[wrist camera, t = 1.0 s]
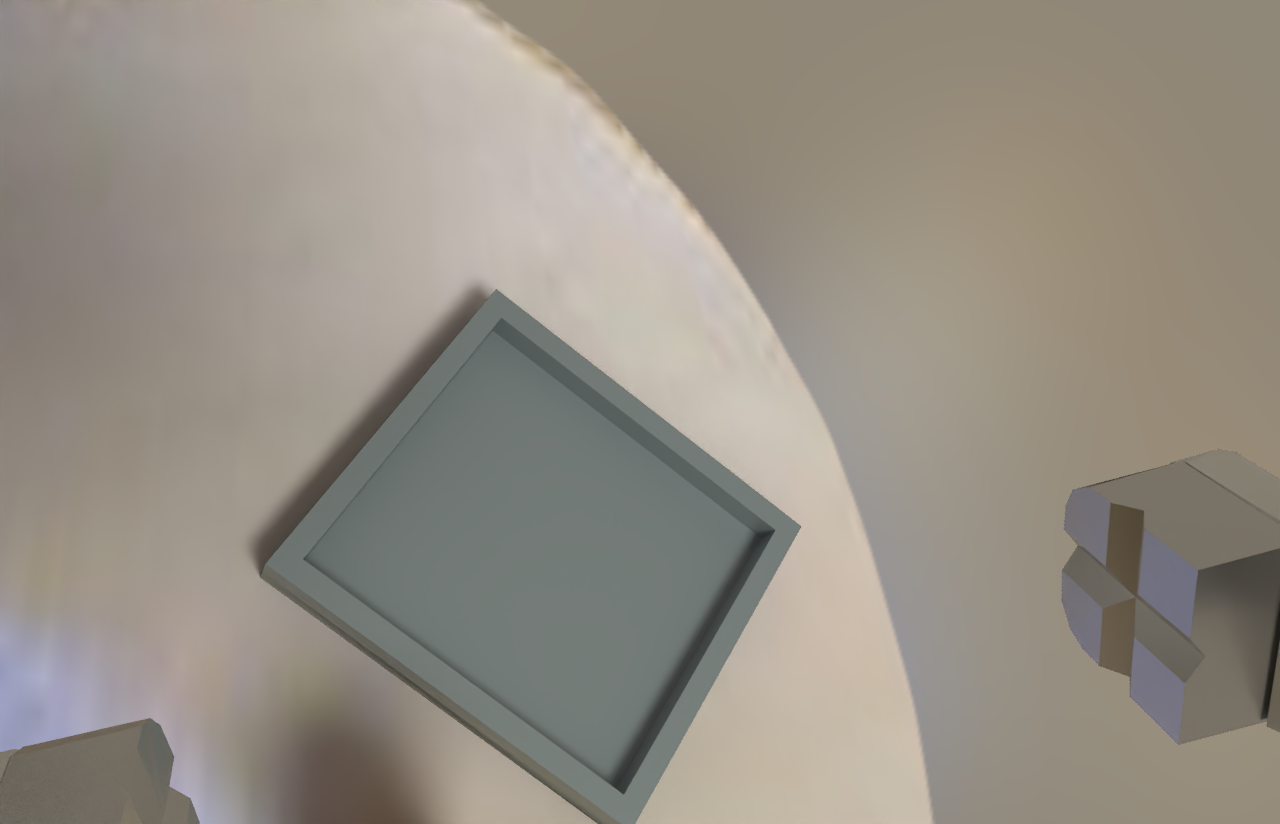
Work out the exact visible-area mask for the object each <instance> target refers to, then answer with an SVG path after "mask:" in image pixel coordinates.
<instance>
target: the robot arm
mask: <svg viewBox="0 0 1280 824" xmlns="http://www.w3.org/2000/svg"><path fill="white" fill-rule="evenodd" d="M1064 530H1065V531H1066V533H1067V534H1068V535H1069V536H1070V537H1071V538H1072V540H1073V541H1074V542H1075V543H1076V544H1077V545H1078V546H1077V548H1076V549H1075V551H1074V552H1073V554H1072V556H1071V557H1070V559H1069V560H1068V562H1067V563H1066V565H1065V566H1064V568H1063V569H1062V604H1063V607H1064V610H1065V613H1066V617H1067V620H1068V623H1069V626H1070V629H1071V631H1072V632H1073V634H1074V636H1075V637H1076V639H1077V641H1078V642H1079V644H1080V645H1081V647H1082V649H1083V650H1084V651H1085V652H1086V653H1087V654H1088V655H1089V656H1090V657H1091V658H1092V659H1093V660H1094V661H1095V662H1096V663H1097V664H1098V665H1099V666H1101V667H1104V668H1106V669H1109V670H1112V671H1115V672H1118V673H1120V674H1123V675H1126V676H1129V677H1130V697H1131V698H1132V699H1133V700H1134V701H1135V702H1136V703H1137V704H1138V705H1139V706H1140V707H1141V708H1142V709H1143V710H1144V711H1145V712H1146V713H1147V714H1148V715H1149V716H1150V717H1151V718H1152V719H1153V720H1154V721H1155V722H1156V723H1157V724H1158V725H1159V726H1160V727H1161V728H1162V729H1163V730H1164V731H1165V732H1166V733H1167V734H1168V735H1169V736H1170V737H1171V738H1172V739H1173V740H1174V741H1175V742H1176V743H1177V744H1183V743H1187V742H1191V741H1194V740H1198V739H1202V738H1205V737H1209V736H1213V735H1217V734H1221V733H1224V732H1228V731H1232V730H1236V729H1239V728H1243V727H1247V726H1251V725H1255V724H1259V723H1263V722H1266V721H1267V727H1270V728H1272V729H1274V730H1276V731H1278V732H1280V478H1278V477H1277V476H1275V475H1273V474H1272V473H1270V472H1268V471H1267V470H1265V469H1264V468H1262V467H1260V466H1258V465H1257V464H1255V463H1254V462H1252V461H1250V460H1249V459H1247V458H1245V457H1244V456H1242V455H1241V454H1239V453H1237V452H1234V451H1228V450H1222V449H1217V450H1213V451H1210V452H1206V453H1203V454H1199V455H1196V456H1193V457H1189V458H1185V459H1182V460H1178V461H1175V462H1171V463H1170V464H1169V465H1165V466H1162V467H1158V468H1154V469H1150V470H1146V471H1143V472H1139V473H1135V474H1131V475H1127V476H1123V477H1119V478H1116V479H1112V480H1108V481H1104V482H1100V483H1096V484H1093V485H1089V486H1085V487H1081V488H1077V489H1074V490H1072V492H1071V494H1070V497H1069V499H1068V501H1067V504H1066V507H1065V520H1064ZM173 760H174V756H173V753H172V751H171V749H170V747H169V744H168V742H167V740H166V737H165V735H164V733H163V730H162V728H161V726H160V725H159V724H158V723H156V722H155V721H153V720H152V719H150V718H148V719H144V720H139V721H135V722H131V723H126V724H122V725H118V726H113V727H109V728H104V729H100V730H96V731H91V732H87V733H82V734H78V735H74V736H69V737H65V738H61V739H56V740H52V741H47V742H43V743H39V744H34V745H30V746H25V747H22V748H21V749H20V750H14V749H12V750H8V751H4V752H0V824H200V823H199V820H198V817H197V815H196V812H195V809H194V807H193V804H192V801H191V799H190V798H189V797H187V796H185V795H183V794H182V793H180V792H178V791H176V790H174V789H173V788H171V787H169V784H170V778H171V772H172V766H173Z"/></svg>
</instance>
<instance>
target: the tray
mask: <svg viewBox="0 0 1280 824" xmlns="http://www.w3.org/2000/svg"><path fill="white" fill-rule="evenodd" d="M800 528H801V526H800V525H799V524H797V523H796V522H795V521H794V520H792V519H791V518H790V517H788V516H787V515H786V514H785V513H783V512H782V511H781V510H779V509H778V508H777V507H776V506H774V505H773V504H772V503H770V502H769V501H768V500H767V499H765V498H764V497H763V496H761V495H760V494H759V493H758V492H756V491H755V490H754V489H752V488H751V487H750V486H749V485H747V484H746V483H745V482H743V481H742V480H741V479H740V478H738V477H737V476H736V475H734V474H733V473H732V472H731V471H729V470H728V469H727V468H725V467H724V466H723V465H722V464H720V463H719V462H718V461H716V460H715V459H714V458H713V457H711V456H710V455H709V454H707V453H706V452H705V451H704V450H702V449H701V448H700V447H698V446H697V445H696V444H695V443H693V442H692V441H691V440H689V439H688V438H687V437H686V436H684V435H683V434H682V433H680V432H679V431H678V430H677V429H675V428H674V427H673V426H671V425H670V424H669V423H668V422H666V421H665V420H664V419H662V418H661V417H660V416H659V415H657V414H656V413H655V412H653V411H652V410H651V409H650V408H648V407H647V406H646V405H644V404H643V403H642V402H641V401H639V400H638V399H637V398H635V397H634V396H633V395H632V394H630V393H629V392H628V391H626V390H625V389H624V388H623V387H621V386H620V385H619V384H617V383H616V382H615V381H614V380H612V379H611V378H610V377H608V376H607V375H606V374H605V373H603V372H602V371H601V370H599V369H598V368H597V367H596V366H594V365H593V364H592V363H590V362H589V361H588V360H587V359H585V358H584V357H583V356H581V355H580V354H579V353H578V352H576V351H575V350H574V349H572V348H571V347H570V346H569V345H567V344H566V343H565V342H563V341H562V340H561V339H560V338H558V337H557V336H556V335H554V334H553V333H552V332H551V331H549V330H548V329H547V328H545V327H544V326H543V325H542V324H540V323H539V322H538V321H536V320H535V319H534V318H533V317H531V316H530V315H529V314H527V313H526V312H525V311H524V310H522V309H521V308H520V307H518V306H517V305H516V304H515V303H513V302H512V301H511V300H509V299H508V298H507V297H506V296H504V295H503V294H502V293H500V292H499V291H498V290H497V289H496V290H495V291H494V292H493V294H492V295H491V296H490V297H489V298H488V299H487V301H486V302H485V303H484V304H483V305H482V307H481V308H480V309H479V310H478V311H477V313H476V314H475V315H474V316H473V317H472V319H471V320H470V321H469V322H468V323H467V324H466V326H465V327H464V328H463V329H462V330H461V332H460V333H459V334H458V335H457V336H456V338H455V339H454V340H453V341H452V342H451V343H450V345H449V346H448V347H447V348H446V349H445V351H444V352H443V353H442V354H441V355H440V357H439V358H438V359H437V360H436V361H435V363H434V364H433V365H432V366H431V367H430V368H429V370H428V371H427V372H426V373H425V374H424V376H423V377H422V378H421V379H420V380H419V382H418V383H417V384H416V385H415V386H414V388H413V389H412V390H411V391H410V392H409V393H408V395H407V396H406V397H405V398H404V399H403V401H402V402H401V403H400V404H399V405H398V407H397V408H396V409H395V410H394V411H393V413H392V414H391V415H390V416H389V417H388V418H387V420H386V421H385V422H384V423H383V424H382V426H381V427H380V428H379V429H378V430H377V432H376V433H375V434H374V435H373V436H372V438H371V439H370V440H369V441H368V442H367V443H366V445H365V446H364V447H363V448H362V449H361V451H360V452H359V453H358V454H357V455H356V457H355V458H354V459H353V460H352V461H351V463H350V464H349V465H348V466H347V467H346V468H345V470H344V471H343V472H342V473H341V474H340V476H339V477H338V478H337V479H336V480H335V482H334V483H333V484H332V485H331V486H330V488H329V489H328V490H327V491H326V492H325V493H324V495H323V496H322V497H321V498H320V499H319V501H318V502H317V503H316V504H315V505H314V507H313V508H312V509H311V510H310V511H309V513H308V514H307V515H306V516H305V517H304V518H303V520H302V521H301V522H300V523H299V524H298V526H297V527H296V528H295V529H294V530H293V532H292V533H291V534H290V535H289V536H288V538H287V539H286V540H285V541H284V542H283V543H282V545H281V546H280V547H279V548H278V549H277V551H276V552H275V553H274V554H273V555H272V557H271V558H270V559H269V560H268V561H267V563H266V564H265V566H264V569H263V572H262V574H261V578H262V579H263V580H265V581H266V582H267V583H269V584H270V585H272V586H273V587H274V588H276V589H277V590H278V591H280V592H281V593H283V594H284V595H285V596H287V597H288V598H289V599H291V600H292V601H294V602H295V603H296V604H298V605H299V606H300V607H302V608H303V609H304V610H306V611H307V612H309V613H310V614H311V615H313V616H314V617H315V618H317V619H318V620H320V621H321V622H322V623H324V624H325V625H326V626H328V627H329V628H331V629H332V630H333V631H335V632H336V633H337V634H339V635H340V636H342V637H343V638H344V639H346V640H347V641H348V642H350V643H351V644H352V645H354V646H355V647H357V648H358V649H359V650H361V651H362V652H363V653H365V654H366V655H368V656H369V657H370V658H372V659H373V660H374V661H376V662H377V663H379V664H380V665H381V666H383V667H384V668H385V669H387V670H388V671H389V672H391V673H392V674H394V675H395V676H396V677H398V678H399V679H400V680H402V681H403V682H405V683H406V684H407V685H409V686H410V687H411V688H413V689H414V690H416V691H417V692H418V693H420V694H421V695H422V696H424V697H425V698H427V699H428V700H429V701H431V702H432V703H433V704H435V705H436V706H437V707H439V708H440V709H442V710H443V711H444V712H446V713H447V714H448V715H450V716H451V717H453V718H454V719H455V720H457V721H458V722H459V723H461V724H462V725H464V726H465V727H466V728H468V729H469V730H470V731H472V732H473V733H474V734H476V735H477V736H479V737H480V738H481V739H483V740H484V741H485V742H487V743H488V744H490V745H491V746H492V747H494V748H495V749H496V750H498V751H499V752H501V753H502V754H503V755H505V756H506V757H507V758H509V759H510V760H512V761H513V762H514V763H516V764H517V765H518V766H520V767H521V768H522V769H524V770H525V771H527V772H528V773H529V774H531V775H532V776H533V777H535V778H536V779H538V780H539V781H540V782H542V783H543V784H544V785H546V786H547V787H549V788H550V789H551V790H553V791H554V792H555V793H557V794H558V795H560V796H561V797H562V798H564V799H565V800H566V801H568V802H569V803H570V804H572V805H573V806H575V807H576V808H577V809H579V810H580V811H581V812H583V813H584V814H586V815H587V816H588V817H590V818H591V819H592V820H594V821H595V822H597V823H598V824H635V823H636V821H637V819H638V818H639V816H640V814H641V812H642V810H643V809H644V807H645V805H646V803H647V801H648V800H649V798H650V796H651V794H652V793H653V791H654V789H655V787H656V785H657V784H658V782H659V780H660V778H661V776H662V775H663V773H664V771H665V769H666V768H667V766H668V764H669V762H670V760H671V759H672V757H673V755H674V753H675V751H676V750H677V748H678V746H679V744H680V743H681V741H682V739H683V737H684V735H685V734H686V732H687V730H688V728H689V726H690V725H691V723H692V721H693V719H694V717H695V716H696V714H697V712H698V710H699V709H700V707H701V705H702V703H703V701H704V700H705V698H706V696H707V694H708V692H709V691H710V689H711V687H712V685H713V684H714V682H715V680H716V678H717V676H718V675H719V673H720V671H721V669H722V667H723V666H724V664H725V662H726V660H727V659H728V657H729V655H730V653H731V651H732V650H733V648H734V646H735V644H736V642H737V641H738V639H739V637H740V635H741V634H742V632H743V630H744V628H745V626H746V625H747V623H748V621H749V619H750V617H751V616H752V614H753V612H754V610H755V608H756V607H757V605H758V603H759V601H760V600H761V598H762V596H763V594H764V592H765V591H766V589H767V587H768V585H769V583H770V582H771V580H772V578H773V576H774V575H775V573H776V571H777V569H778V567H779V566H780V564H781V562H782V560H783V558H784V557H785V555H786V553H787V551H788V550H789V548H790V546H791V544H792V542H793V541H794V539H795V537H796V535H797V533H798V532H799V530H800Z"/></svg>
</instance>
